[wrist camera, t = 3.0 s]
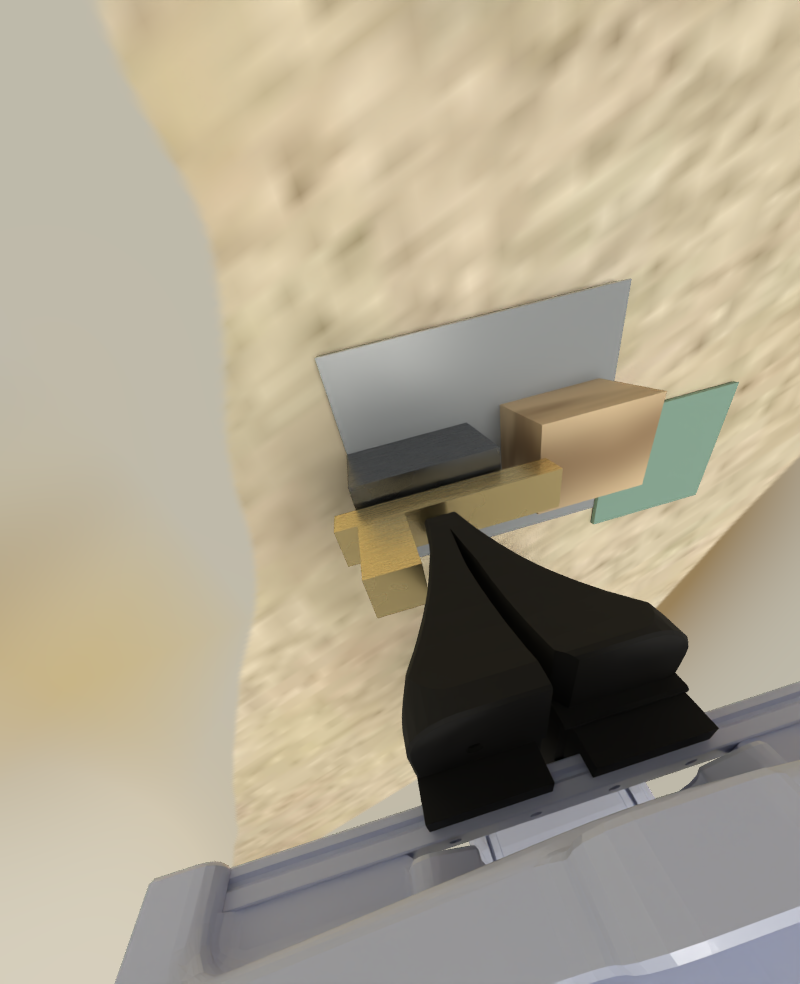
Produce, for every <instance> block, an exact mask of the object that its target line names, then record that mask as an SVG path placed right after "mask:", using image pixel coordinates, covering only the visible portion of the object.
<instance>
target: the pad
mask: <svg viewBox="0 0 800 984" xmlns="http://www.w3.org/2000/svg"><path fill="white" fill-rule="evenodd" d="M738 383H739V382H730V383H726V384H723V385H719V386H715V387H712V388H708V389H704V390H701V391H697V392H694V393H690V394H686V395H683V396H679V397H675V398H672V399H668V400H664V404H663V408H662V411H661V415H660V419H659V423H658V427H657V430H656V434H655V438H654V442H653V445H652V449H651V453H650V457H649V460H648V464H647V468H646V472H645V476H644V479H643V483H642V485H639V486H636V487H632V488H629V489H625V490H622V491H618V492H615V493H611V494H608V495H604V496H601V497H597V498H595V501H594V507H593V513H592V519H591V523H593V524H597V523H600V522H603V521H607V520H610V519H614V518H617V517H621V516H624V515H627V514H631V513H634V512H638V511H641V510H645V509H648V508H651V507H655V506H658V505H662V504H665V503H669V502H672V501H675V500H679V499H682V498H686V497H689V496H693V495H696V492H697V490H698V487H699V484H700V482H701V479H702V477H703V474H704V472H705V469H706V466H707V464H708V461H709V459H710V456H711V453H712V451H713V448H714V446H715V443H716V440H717V438H718V435H719V433H720V430H721V427H722V425H723V422H724V420H725V417H726V415H727V412H728V409H729V407H730V404H731V402H732V399H733V396H734V394H735V391H736V389H737V386H738Z"/></svg>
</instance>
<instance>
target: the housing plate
mask: <svg viewBox="0 0 800 984" xmlns="http://www.w3.org/2000/svg"><path fill="white" fill-rule="evenodd" d="M630 285H631V279H626V280H621V281H615V282H611V283H607V284H603V285H599V286H595V287H591V288H587V289H583V290H579V291H575V292H571V293H567V294H563V295H559V296H555V297H551V298H547V299H543V300H539V301H535V302H531V303H527V304H523V305H519V306H515V307H511V308H507V309H504V310H500V311H496V312H492V313H488V314H484V315H480V316H476V317H472V318H468V319H464V320H460V321H456V322H452V323H448V324H444V325H440V326H436V327H432V328H428V329H424V330H420V331H416V332H412V333H408V334H404V335H400V336H396V337H392V338H388V339H384V340H380V341H376V342H372V343H368V344H364V345H360V346H356V347H352V348H348V349H344V350H340V351H336V352H332V353H329V354H325V355H321V356H317V357H315V361H316V364H317V367H318V370H319V373H320V376H321V379H322V382H323V385H324V388H325V391H326V394H327V397H328V400H329V403H330V406H331V408H332V411H333V414H334V417H335V420H336V423H337V426H338V429H339V432H340V435H341V438H342V441H343V444H344V447H345V450H346V453H347V468H348V489H349V492H350V494H351V497H352V500H353V503H354V506H355V508H356V510H359V509H363V508H366V507H370V506H374V505H377V504H381V503H384V502H388V501H392V500H395V499H399V498H402V497H406V496H410V495H413V494H417V493H420V492H424V491H428V490H431V489H435V488H438V487H442V486H446V485H449V484H453V483H456V482H460V481H464V480H467V479H471V478H474V477H478V476H482V475H485V474H489V473H492V472H496V471H500V470H502V465H501V431H500V405H501V404H504V403H508V402H512V401H516V400H519V399H523V398H527V397H531V396H534V395H538V394H542V393H546V392H549V391H553V390H557V389H561V388H564V387H568V386H572V385H576V384H579V383H583V382H587V381H590V380H594V379H598V378H601V379H606V380H611V381H614V379H615V373H616V368H617V362H618V356H619V350H620V344H621V338H622V332H623V326H624V320H625V315H626V309H627V303H628V297H629V291H630ZM593 503H594V499H590V500H587V501H583V502H580V503H576V504H573V505H569V506H566V507H562V508H559V509H555V510H552V511H548V512H545V513H542V514H537V513H535V514H531V515H528V516H524V517H521V518H517V519H514V520H510V521H507V522H503V523H500V524H496V525H493V526H489V527H486V528H482V529H479V530H480V531H481V532H483V533H484V534H486V535H487V536H489V537H492V536H495V535H499V534H502V533H506V532H509V531H513V530H516V529H520V528H523V527H527V526H530V525H533V524H537V523H540V522H544V521H547V520H551V519H554V518H558V517H561V516H565V515H568V514H572V513H575V512H579V511H582V510H585V509H589V508H592V507H593ZM416 548H417V551H418V554H419V557H423V556H426V555H429V554H430V550H429V544H426V545H423V546H419V547H416Z"/></svg>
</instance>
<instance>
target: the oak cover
mask: <svg viewBox="0 0 800 984" xmlns="http://www.w3.org/2000/svg"><path fill="white" fill-rule="evenodd" d="M666 393H667V391H663V390H658V389H653V388H648V387H642V386H637V385H632V384H627V383H622V382H616V381H611V380H606V379H601V378H598V379H594V380H590V381H587V382H583V383H579V384H576V385H572V386H568V387H564V388H561V389H557V390H553V391H549V392H546V393H542V394H538V395H534V396H531V397H527V398H523V399H519V400H516V401H512V402H508V403H504V404H501V405H500V431H501V465H502V470H503V469H507V468H510V467H514V466H518V465H521V464H525V463H528V462H532V461H536V460H539V459H543V458H547V459H549V460H550V461H552V462H553V463H555V464H556V465H558V466H560V467H561V468H563V471H562V482H561V492H560V503H559V507H555V508H552V509H548V510H545V511H541V512H538V513H537V514H542V513H545V512H548V511H552V510H555V509H559V508H562V507H566V506H569V505H573V504H576V503H580V502H583V501H587V500H590V499H594V498H597V497H601V496H604V495H608V494H611V493H615V492H618V491H622V490H625V489H629V488H632V487H636V486H639V485H642V483H643V479H644V476H645V472H646V468H647V464H648V460H649V457H650V453H651V449H652V445H653V442H654V438H655V434H656V430H657V427H658V423H659V419H660V415H661V411H662V408H663V404H664V400H665V396H666Z"/></svg>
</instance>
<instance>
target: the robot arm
mask: <svg viewBox="0 0 800 984" xmlns="http://www.w3.org/2000/svg"><path fill="white" fill-rule="evenodd" d="M424 524H425V529H426V534H427V538H428V543H429V550H430V565H429V581H428V589H427V597H426V602H425V608H424V613H423V618H422V622H421V626H420V630H419V634H418V638H417V642H416V645H415V648H414V652H413V655H412V658H411V661H410V664H409V667H408V670H407V673H406V678H405V687H404V696H403V707H402V729H403V736H404V742H405V748H406V754H407V758H408V760H409V762H410V764H411V766H412V768H413V770H414V772H415V774H416V775H417V779H418V784H419V791H420V796H421V802H422V805H421V806H418V807H415V808H412V809H409V810H406V811H403V812H400V813H397V814H394V815H390V816H388V817H385V818H381V819H378V820H375V821H372V822H369V823H366V824H363V825H360V826H357V827H354V828H351V829H348V830H345V831H342V832H339V833H336V834H333V835H330V836H327V837H323V838H320V839H317V840H314V841H311V842H308V843H305V844H302V845H299V846H296V847H293V848H290V849H287V850H284V851H281V852H278V853H275V854H272V855H268V856H265V857H262V858H259V859H256V860H253V861H250V862H247V863H244V864H241V865H238V866H235V867H232V868H230V867H229V866H228V865H226V864H224V863H222V862H206V863H202V864H198V865H195V866H192V867H189V868H186V869H183V870H179V871H176V872H173V873H170V874H168V875H164V876H161V877H158V878H155V879H154V880H153V881H152V882H151V883H150V884H149V886H148V889H147V892H146V894H145V897H144V901H143V903H142V906H141V909H140V912H139V915H138V918H137V921H136V924H135V926H134V929H133V932H132V935H131V938H130V941H129V944H128V947H127V950H126V952H125V955H124V958H123V961H122V964H121V967H120V970H119V973H118V975H117V979H116V981H115V984H800V682H796V683H793V684H790V685H787V686H784V687H781V688H778V689H775V690H772V691H769V692H766V693H763V694H760V695H757V696H754V697H750V698H748V699H744V700H742V701H738V702H735V703H732V704H729V705H727V706H723V707H720V708H717V709H714V710H711V711H708V712H705V713H704V712H703V711H702V710H701V708H700V707H699V706H698V705H697V704H696V703H695V702H694V701H693V700H692V699H691V698H690V697H689V696H688V695H687V694H686V693H685V692H687V691H688V690H689V688H688V686H687V685H686V684H685V682H684V681H682V679H681V678H680V677H679V676H678V675H677V674H676V673H675V672H676V670H677V669H678V667H679V665H680V663H681V662H682V660H683V658H684V656H685V654H686V652H687V649H688V639H687V636H686V635H685V634H684V633H683V632H681V630H679V629H678V628H677V627H676V626H675V625H674V624H673V623H672V622H671V621H670V620H669V619H667V618H666V617H665V616H664V615H663V614H662V613H661V612H659V611H658V610H657V609H656V608H654V607H653V606H652V605H651V604H649V603H648V602H644V601H641V600H637V599H633V598H630V597H626V596H623V595H619V594H616V593H612V592H608V591H605V590H602V589H599V588H596V587H593V586H590V585H587V584H584V583H581V582H579V581H576V580H573V579H570V578H568V577H565V576H563V575H561V574H558V573H556V572H553V571H551V570H548V569H546V568H544V567H542V566H539V565H537V564H535V563H533V562H531V561H529V560H527V559H525V558H523V557H521V556H520V555H518V554H516V553H514V552H513V551H511V550H509V549H507V548H506V547H504V546H502V545H501V544H499V543H498V542H496V541H495V540H493V539H492V538H490V537H489V536H487V535H486V534H484V533H483V532H481V531H480V530H479V529H477V528H476V527H475V526H473V525H472V524H470V523H469V522H468V521H467V520H465V519H464V518H463V517H462V516H460V515H459V514H458V513H456V512H455V511H454V512H450V513H447V514H443V515H440V516H436V517H432V518H429V519H426V520H425V522H424ZM718 757H719V758H718ZM715 758H717V759H716V760H713V761H711V762H709V763H707V764H705V765H703V766H701V767H700V768H699V770H698V773H697V776H696V777H695V778H694V779H693V780H692V781H691V782H690V783H689V784H688V785H686V786H685V787H684V788H683V789H681V790H680V791H678V792H675V793H672V794H669V795H665V796H662V797H659V798H656V799H655V797H654V796H653V794H652V792H651V791H650V789H649V787H648V786H647V784H646V782H647V781H650V780H653V779H655V778H658V777H661V776H664V775H667V774H670V773H673V772H676V771H679V770H682V769H685V768H688V767H691V766H694V765H697V764H700V763H703V762H706V761H709V760H712V759H715ZM468 841H469V843H470V846H465V847H460V848H454V849H448V850H445V849H447V848H450V847H453V846H456V845H460V844H463V843H465V842H468ZM442 850H443V851H442Z"/></svg>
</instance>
